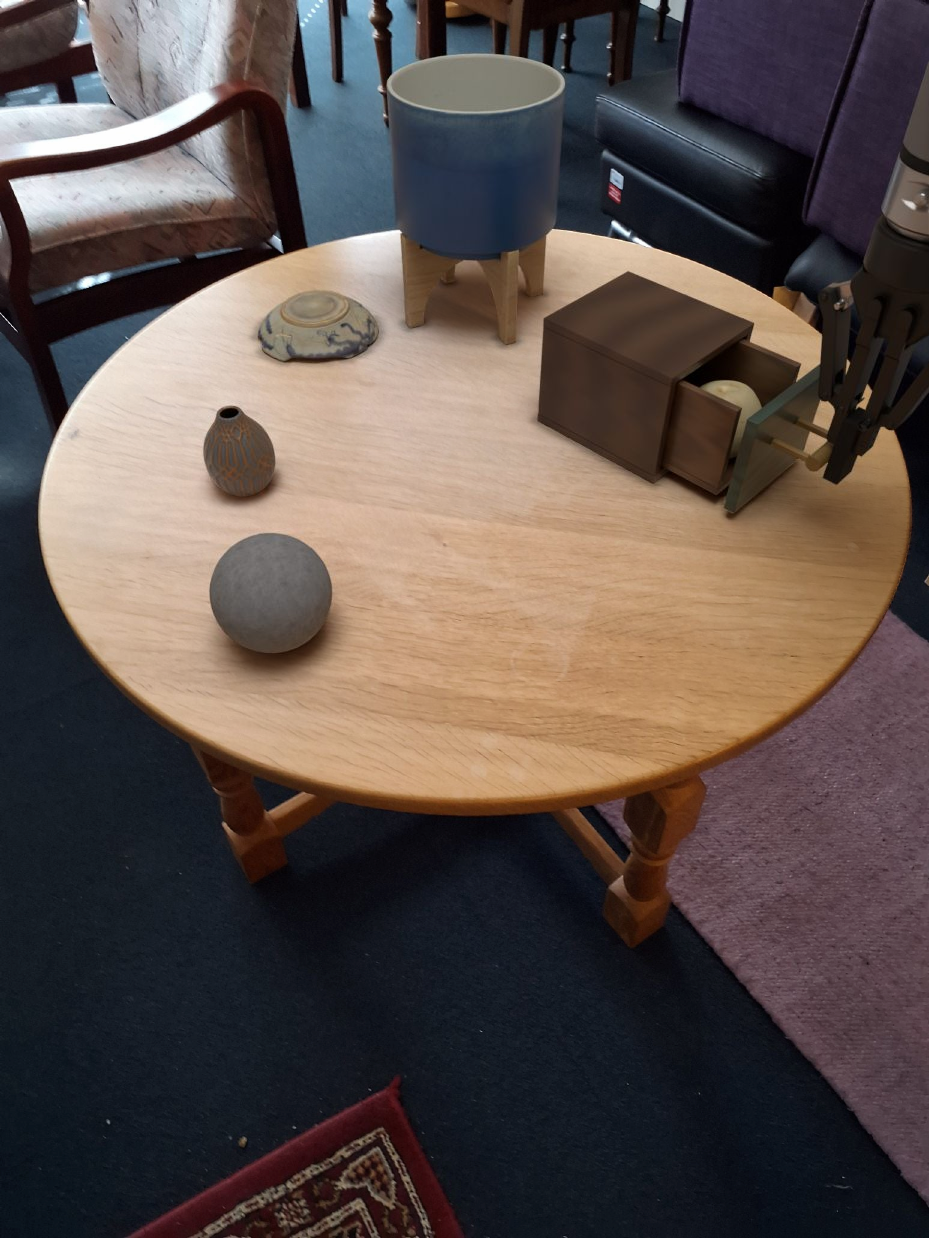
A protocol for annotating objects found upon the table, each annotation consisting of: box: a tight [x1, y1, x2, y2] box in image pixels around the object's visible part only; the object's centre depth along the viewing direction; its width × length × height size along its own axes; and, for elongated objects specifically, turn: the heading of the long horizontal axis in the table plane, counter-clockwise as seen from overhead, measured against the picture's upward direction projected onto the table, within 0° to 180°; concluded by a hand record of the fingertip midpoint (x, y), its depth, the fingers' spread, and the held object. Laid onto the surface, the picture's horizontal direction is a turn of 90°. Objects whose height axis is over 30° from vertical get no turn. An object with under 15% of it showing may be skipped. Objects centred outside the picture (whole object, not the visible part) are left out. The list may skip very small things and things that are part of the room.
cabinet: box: [537, 270, 755, 484], centre depth 94 cm, size 16×14×12 cm
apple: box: [699, 380, 762, 459], centre depth 90 cm, size 8×8×8 cm
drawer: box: [661, 338, 834, 514], centre depth 88 cm, size 20×13×10 cm, turn 45°
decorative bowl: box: [257, 289, 379, 363], centre depth 111 cm, size 15×4×15 cm
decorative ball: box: [208, 532, 333, 654], centre depth 74 cm, size 10×10×10 cm
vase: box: [202, 405, 276, 497], centre depth 89 cm, size 7×7×9 cm
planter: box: [386, 53, 566, 345], centre depth 106 cm, size 19×19×26 cm
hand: (837, 474), depth 84 cm, fingers closed
